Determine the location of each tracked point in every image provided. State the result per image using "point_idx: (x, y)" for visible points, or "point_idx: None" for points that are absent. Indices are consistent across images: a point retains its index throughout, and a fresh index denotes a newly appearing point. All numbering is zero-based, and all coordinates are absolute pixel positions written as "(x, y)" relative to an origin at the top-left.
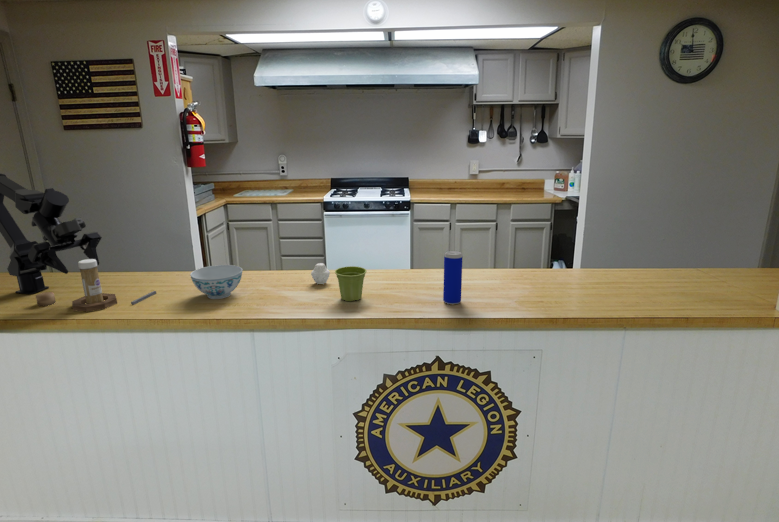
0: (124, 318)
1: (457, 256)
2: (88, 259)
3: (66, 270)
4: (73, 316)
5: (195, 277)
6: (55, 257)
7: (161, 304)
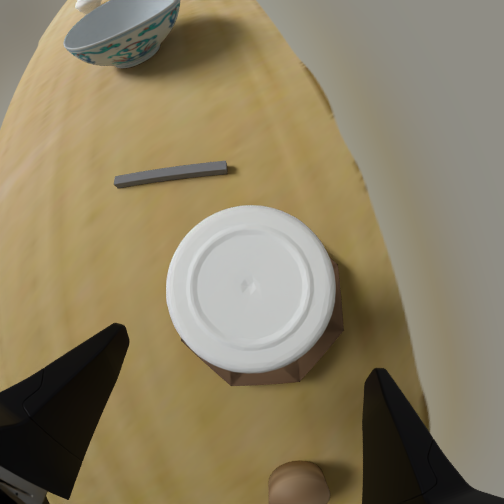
0: (329, 117)
1: None
2: (203, 313)
3: (386, 375)
4: (376, 278)
5: (116, 47)
6: (441, 483)
7: (207, 101)
